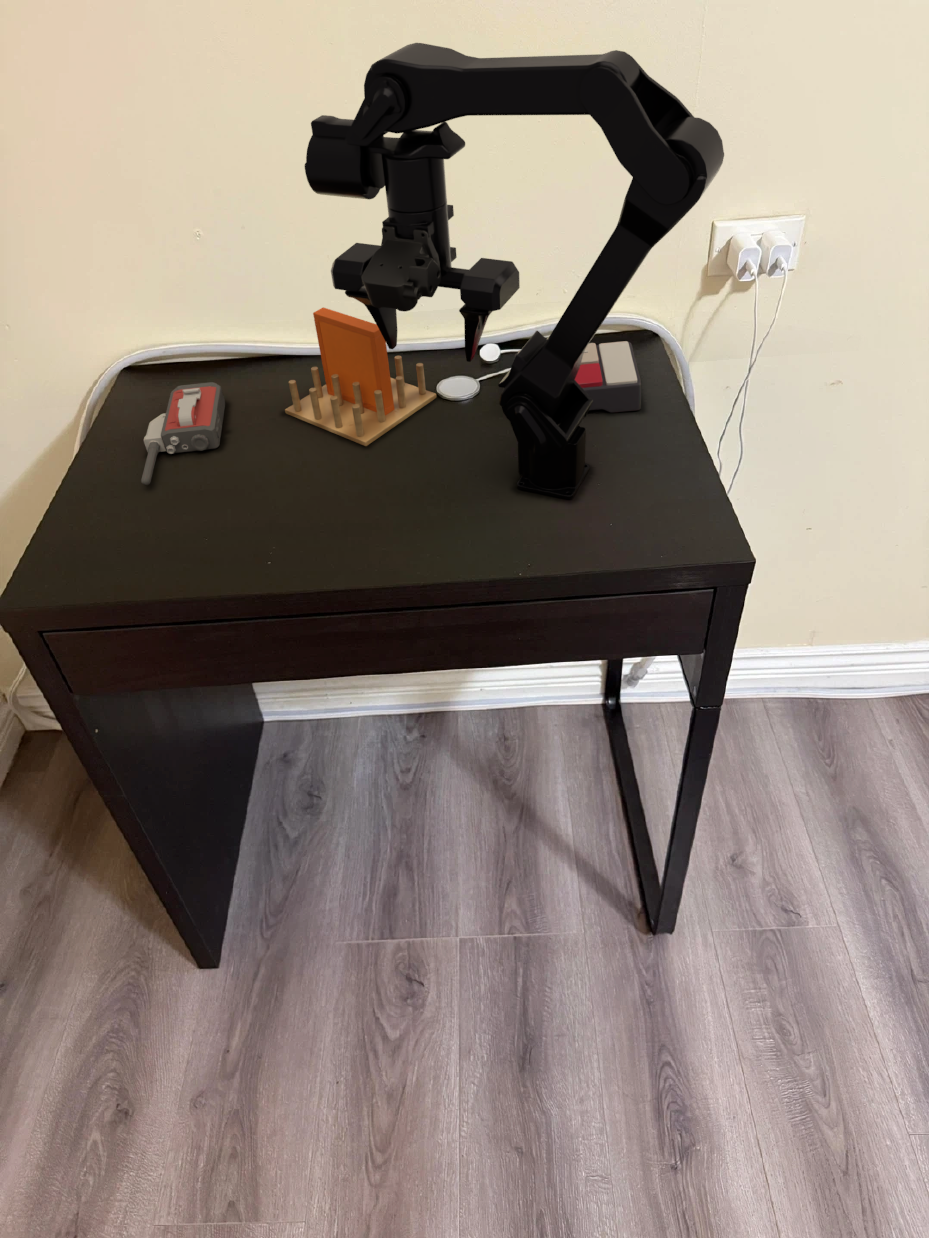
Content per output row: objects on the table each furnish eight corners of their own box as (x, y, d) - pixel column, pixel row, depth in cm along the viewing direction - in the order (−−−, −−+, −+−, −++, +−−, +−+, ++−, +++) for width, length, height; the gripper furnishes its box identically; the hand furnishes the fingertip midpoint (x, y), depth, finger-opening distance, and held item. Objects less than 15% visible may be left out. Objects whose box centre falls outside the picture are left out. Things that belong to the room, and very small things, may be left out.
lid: (394, 409, 113) (384, 326, 105) (385, 416, 112) (373, 332, 104) (337, 388, 117) (323, 307, 110) (327, 394, 117) (312, 312, 109)
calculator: (513, 347, 116) (631, 335, 115) (516, 377, 119) (630, 366, 118) (515, 390, 108) (642, 378, 107) (518, 421, 111) (641, 410, 110)
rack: (436, 397, 115) (433, 364, 112) (366, 446, 108) (360, 413, 105) (357, 369, 122) (352, 337, 119) (285, 413, 115) (278, 381, 112)
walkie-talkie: (161, 405, 118) (139, 493, 104) (151, 374, 115) (127, 461, 101) (228, 397, 119) (215, 485, 104) (220, 367, 116) (206, 452, 101)
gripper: (289, 224, 84) (318, 376, 95) (472, 245, 78) (480, 405, 88) (348, 183, 91) (368, 329, 102) (520, 200, 85) (522, 353, 95)
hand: (431, 353), depth 97 cm, fingers open, 9 cm apart
